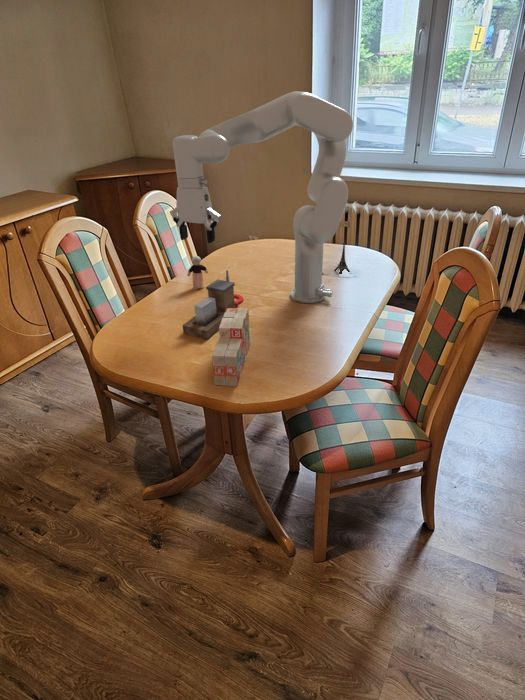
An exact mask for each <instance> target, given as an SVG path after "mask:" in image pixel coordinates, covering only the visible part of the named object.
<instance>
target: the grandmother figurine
mask: <svg viewBox="0 0 525 700" xmlns="http://www.w3.org/2000/svg"><path fill="white" fill-rule="evenodd" d="M191 261H192V265H191V266H190V267H189V269H188V272H187V274H186V275H187V277H190V276H191V274H192V286H193V287H192V289H191V290H193V291H195V290H198V289H199V290H203V289H204V288H205V287H204V276H203V272H205V274H209V271H208V270H207V267H206V266H204V265H203V264H201V261H202V259H201V257H200V256H198V255H193V256H192V258H191ZM202 271H203V272H202Z"/></svg>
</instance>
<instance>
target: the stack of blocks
mask: <svg viewBox="0 0 525 700" xmlns="http://www.w3.org/2000/svg"><path fill="white" fill-rule="evenodd" d="M249 317H250V315H249V308H243V307H242V308H240V307H238V308H237V307H235V308H227V309H226V312H225V313H224V316H223V318H222V321H221V324H220V326H219V331H218V332H219V339H218V342H217V343H216V345H215V347H214V351H213V354H212V363H213V364H212V368H213V369H212V370H213V381H214V386H226V387H227V386H229V387H230V386H231V387H238V386H239V382H240V378H241V376H242V373H243V370H244V365H245V362H246V358H247V356H248V353H249V349H250V346H251V335H250V318H249Z"/></svg>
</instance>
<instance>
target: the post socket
mask: <svg viewBox="0 0 525 700" xmlns="http://www.w3.org/2000/svg"><path fill="white" fill-rule="evenodd" d="M235 283H236V282H233V281H230V280H229V281H226V280H222V279H219V278H218V279H216V280H214V281H213V282H210V283H209V284H207V286H206V291H207V293H208V294H207V297H210V298H215V301H216V313H217V318H216V319H215V320H213V321H212V322H211V323H209V324H208V325H207V326H206V327H203V326H199V325H196V316H193V317H192V318H190V319H189V320H187V321H186V322H185V323H183V324H182V331H183V332H182V333H183V334H184V335H188V336H191V337H196V338H199V339H203V340H207V341H208V340H210V338H212V337H213V336H214V335H215V334H217V333H218V332H219V326H220V324H221V321H222V318H223V316H224V313H225V312H226V309H227V308H236V306H235V303H234V301H235V298H234V294H235V292H234V291H235V288H234V286H235Z"/></svg>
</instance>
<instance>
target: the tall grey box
mask: <svg viewBox="0 0 525 700" xmlns="http://www.w3.org/2000/svg"><path fill="white" fill-rule="evenodd" d="M193 307H194V314H195V316H196V325H199V326H203V327H206V326H207V325H208V324H209V323H211V322H212V321H213V320H215V319H216V318H217V313H216V301H215V298H210V297H208V296H206V297H204V298H203V299H202V300H200V301H198V302H197V303H196V304H194V306H193Z"/></svg>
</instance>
